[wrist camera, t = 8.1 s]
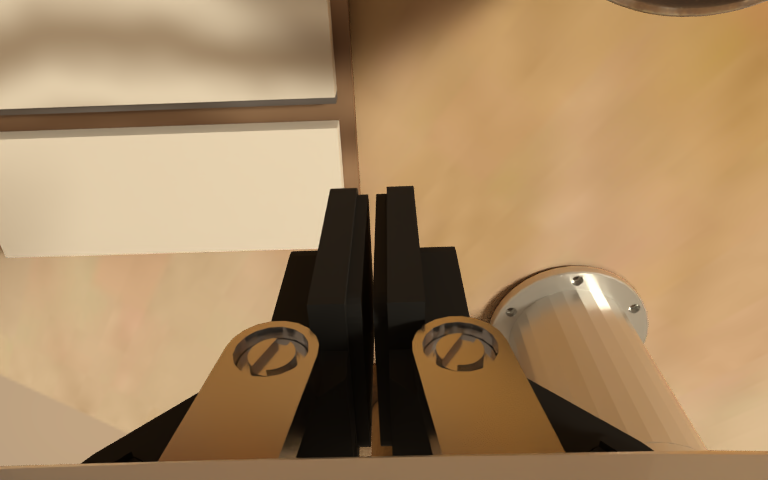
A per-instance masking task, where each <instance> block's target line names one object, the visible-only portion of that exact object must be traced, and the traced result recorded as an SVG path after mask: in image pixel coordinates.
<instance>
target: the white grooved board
mask: <svg viewBox="0 0 768 480" xmlns="http://www.w3.org/2000/svg"><path fill="white" fill-rule="evenodd" d="M331 120H339V126H340V139H341V152H342V165H343V178H344V188H357V189H358V195H360V179H359V162H358V146H357V130H356V114H355V98H354V82H353V66H352V50H351V34H350V18H349V2H348V0H0V132H11V131H40V130H69V129H98V128H127V127H156V126H185V125H215V124H244V123H273V122H302V121H331Z"/></svg>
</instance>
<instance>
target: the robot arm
mask: <svg viewBox="0 0 768 480" xmlns="http://www.w3.org/2000/svg"><path fill="white" fill-rule="evenodd" d="M648 325H649V322H648V315H647V310H646V308H645V306H644V303H643V301H642V299H641V298H640V296H639V295H638V293H637V292H636V290H635V289H634V288H633V287H632V286H631V285H630V284H629V283H628V282H627V281H626V280H624V279H623V278H621V277H619V276H618V275H616V274H614V273H612V272H609V271H607V270H604V269H601V268H595V267H590V266H567V267H560V268H554V269H551V270H548V271H545V272H541V273H539V274H537V275H535V276H533V277H531V278H529V279H526V280H525V281H523V282H522V283H520V284H519V285H518V286H516V287H515V288H513V289H512V290H511V291H510V292H509V293H508V294H507V295H506V296H505V297H504V298H503V299H502V301H501V302H500V303H499V305H498V306H497V308H496V309H495V311H494V313H493V316H492V318H491V320H490V324H489V323H487V322H484V321H482V320H479V319H476V318H470V317H469V312H468V307H467V302H466V298H465V293H464V288H463V283H462V278H461V273H460V269H459V264H458V259H457V254H456V250H455V247H424V248H420V246H419V236H418V226H417V217H416V207H415V197H414V187H413V186H399V187H387V194H376V219H375V249H374V278H373V271H372V253H371V235H370V217H369V199H368V195H358V189H357V188H336V189H330V192H329V197H328V202H327V207H326V212H325V217H324V222H323V227H322V232H321V236H320V241H319V246H318V251H293V252H291V254H290V257H289V260H288V264H287V267H286V271H285V275H284V278H283V282H282V285H281V289H280V292H279V296H278V299H277V303H276V307H275V310H274V314H273V317H272V321H271V322H266V323H262V324H257V325H255V326H253V327H250V328H248V329H246V330H244V331H242V332H241V333H240V334H238V335H237V336H235V337H234V338H233V339H232V340H231V341H230V343H229V344H228V345H227V346H226V347H225V349H224V351H223V352H222V354H221V356H220V358H219V359H218V361H217V363H216V364H215V366H214V368H213V369H212V371H211V373H210V374H209V376H208V378H207V379H206V381H205V383H204V385H203V386H202V388H201V390H200V391H199V393H197V394H195V395H194V396H192V397H190V398H188V399H187V400H185V401H183V402H182V403H180V404H178V405H177V406H175V407H173V408H171V409H170V410H168V411H166V412H165V413H163V414H161V415H160V416H158V417H156V418H154V419H153V420H151V421H149V422H148V423H146V424H144V425H143V426H141V427H139V428H137V429H136V430H134V431H132V432H131V433H129V434H127V435H126V436H124V437H122V438H120V439H119V440H117V441H116V442H114V443H112V444H110V445H109V446H107V447H105V448H104V449H102V450H100V451H99V452H97V453H95V454H94V455H92V456H91V457H89V458H88V459H87V460H85V461H84V462H82V463H81V464H58V465H23V466H22V465H21V466H0V480H768V451H713V450H707V449H706V447H705V445H704V443H703V442H702V440H701V438H700V437H699V435H698V433H697V432H696V430H695V428H694V427H693V425H692V423H691V422H690V420H689V418H688V417H687V415H686V413H685V412H684V410H683V408H682V407H681V405H680V403H679V402H678V400H677V398H676V397H675V395H674V394H673V392H672V390H671V389H670V387H669V385H668V384H667V382H666V380H665V379H664V377H663V375H662V374H661V372H660V370H659V369H658V367H657V365H656V364H655V362H654V360H653V359H652V357H651V355H650V354H649V352H648V350H647V349H646V347H645V345H644V343H645V340H646V337H647V333H648ZM374 339H375V357H376V374H377V392H378V409H379V427H380V444H381V446H392V454H393V456H368V457H359V447H371V431H372V395H373V359H374Z"/></svg>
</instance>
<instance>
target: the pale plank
mask: <svg viewBox="0 0 768 480" xmlns="http://www.w3.org/2000/svg"><path fill="white" fill-rule="evenodd" d="M336 188H344V178H343V165H342V152H341V139H340V126H339V120H331V121H302V122H273V123H244V124H215V125H185V126H156V127H127V128H98V129H69V130H40V131H11V132H0V245H1V248H2V250H3V252H4V255H5V257H6V258H23V257H56V256H90V255H123V254H157V253H190V252H224V251H257V250H291V249H318V246H319V241H320V236H321V232H322V227H323V222H324V217H325V212H326V207H327V202H328V197H329V192H330V189H336Z"/></svg>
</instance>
